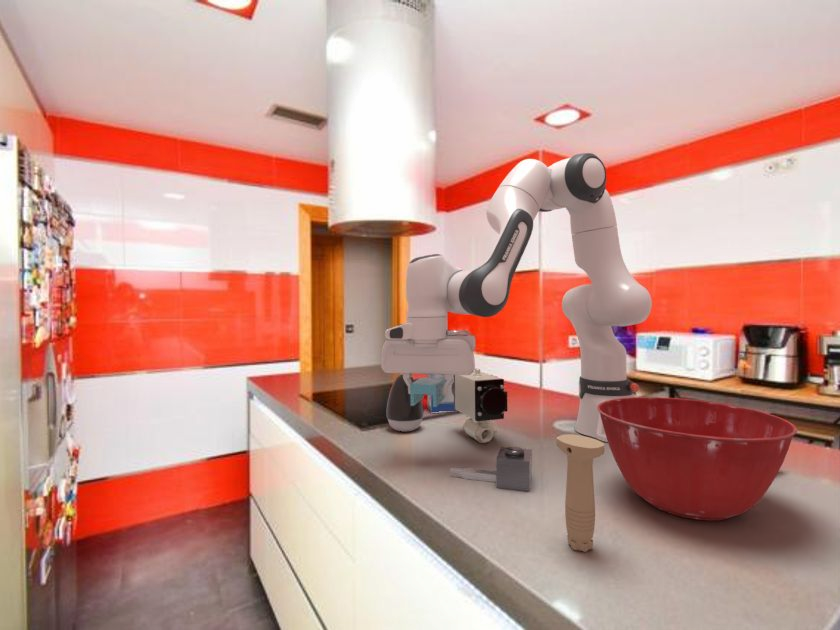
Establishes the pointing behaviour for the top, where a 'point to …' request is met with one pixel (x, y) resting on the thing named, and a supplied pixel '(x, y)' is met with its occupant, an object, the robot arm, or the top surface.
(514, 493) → the top surface
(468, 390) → the ball valve
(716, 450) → the mixing bowl
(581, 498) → the handle
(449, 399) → the milk carton
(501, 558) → the top surface
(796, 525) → the top surface
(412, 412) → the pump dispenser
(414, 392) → the teal storage bin
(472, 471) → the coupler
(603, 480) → the top surface
